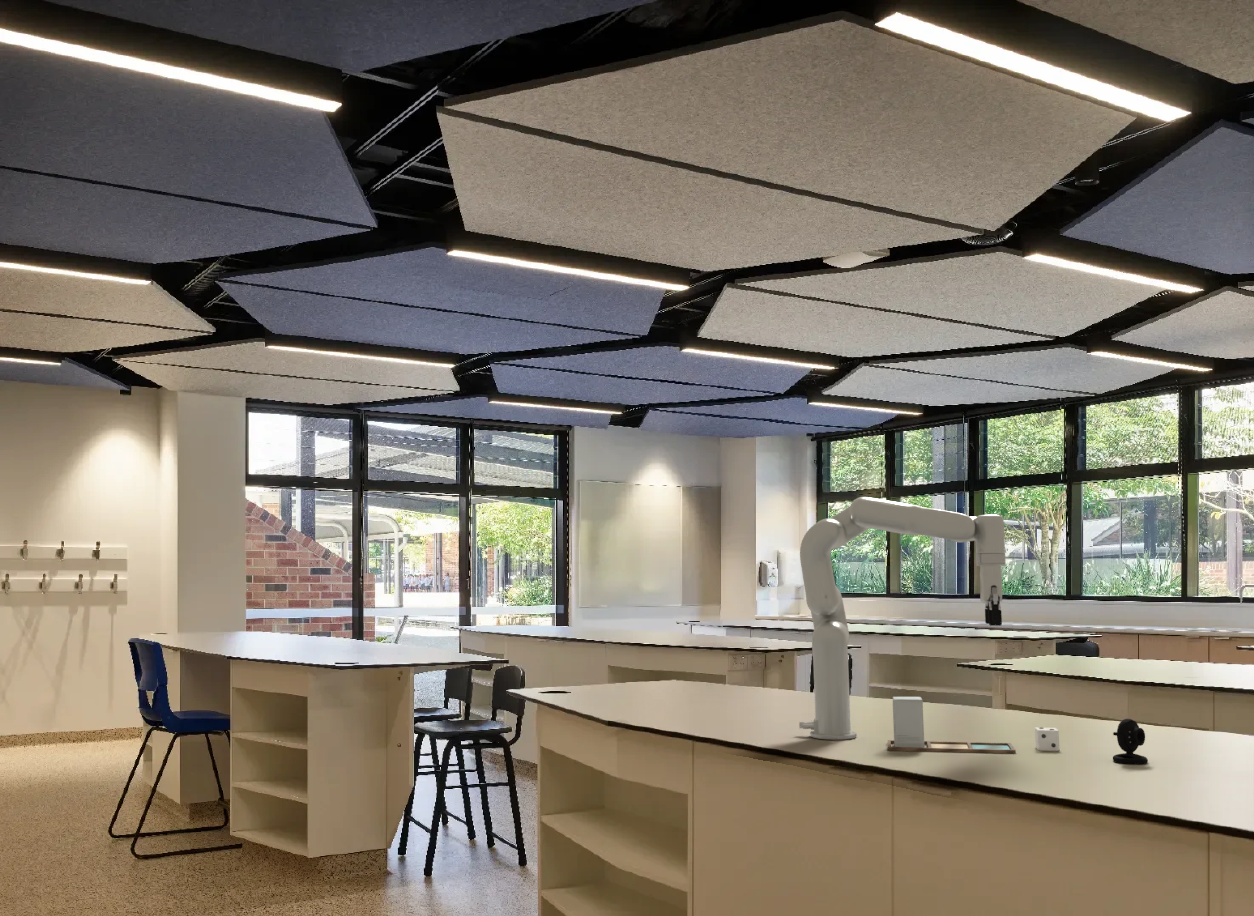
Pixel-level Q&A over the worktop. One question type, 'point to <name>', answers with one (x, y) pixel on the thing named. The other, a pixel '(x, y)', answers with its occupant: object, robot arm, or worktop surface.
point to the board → (958, 747)
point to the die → (1047, 739)
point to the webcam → (1129, 742)
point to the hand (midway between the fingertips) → (993, 624)
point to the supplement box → (908, 722)
